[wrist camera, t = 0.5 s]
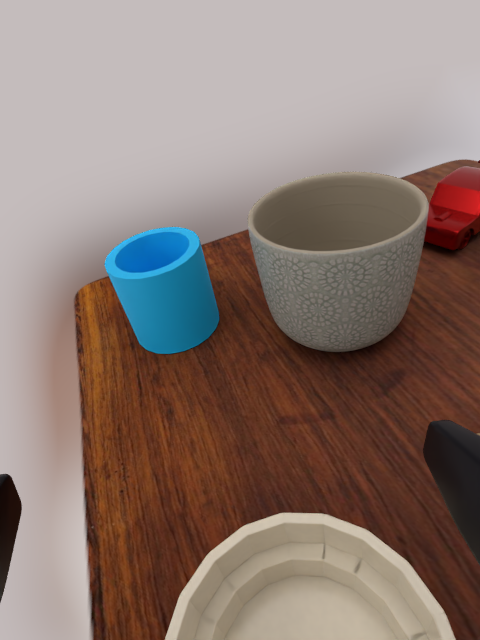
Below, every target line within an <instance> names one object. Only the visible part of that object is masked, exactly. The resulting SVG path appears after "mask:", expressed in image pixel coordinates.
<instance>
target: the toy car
mask: <svg viewBox="0 0 480 640" xmlns="http://www.w3.org/2000/svg"><path fill="white" fill-rule="evenodd" d="M478 163H480V160H479V161H478ZM479 231H480V169H479V168H474V167H468V166H465V167H460V168H458V169H457V170H455V171H454V172H452V173H450V174H449V175H447V176H446V177H445V178H443V179H442V180H441V181H440V182H438V184H437V187H436V189H435V192H434V194H433V196H432V199H431V201H430V204H429V210H428V219H427V226H426V232H425V237H424V241H426V242H429V243H432V244H435V245H438V246H441V247H445V248H448V249H451V250H455V249H462V248H464V247H465V246H466V244H467V243H468V241H469V239H470V235H475V234H476V233H477V232H479Z"/></svg>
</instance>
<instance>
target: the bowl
mask: <svg viewBox="0 0 480 640" xmlns="http://www.w3.org/2000/svg"><path fill="white" fill-rule="evenodd" d="M165 640H456V639H455V636H454V634H453V631H452V629H451V626H450V623H449V621H448V618H447V616H446V614H445V612H444V610H443V609H442V607H441V606H440V605H439V603H438V602H437V601H436V599H435V598H434V596H433V595H432V594H431V592H430V591H429V590H428V588H427V587H426V585H425V584H424V583H423V581H422V580H421V579H420V577H419V576H418V574H417V573H416V572H415V570H414V569H413V568H412V566H411V565H410V564H409V563H408V561H406V560H405V559H404V558H403V557H401V556H400V555H399V554H398V553H396V552H395V551H394V550H392V549H391V548H390V547H389V546H387V545H386V544H385V543H384V542H382V541H381V540H380V539H378V538H377V537H376V536H375V535H373V534H372V533H371V532H370V531H368V530H366V529H364V528H361V527H358V526H356V525H353V524H350V523H348V522H345V521H342V520H340V519H337V518H335V517H332V516H329V515H327V514H317V513H280V514H277V515H274V516H271V517H268V518H265V519H262V520H259V521H256V522H253V523H250V524H247V525H244V526H243V527H241V528H240V529H239V530H237V531H236V532H235V533H233V534H232V535H231V536H230V537H228V538H227V539H226V540H225V541H223V542H222V543H221V544H219V545H218V546H217V547H216V548H214V549H213V550H212V551H211V552H209V554H207V556H206V557H205V559H204V560H203V562H202V563H201V565H200V566H199V568H198V569H197V570H196V572H195V573H194V575H193V576H192V578H191V579H190V581H189V582H188V584H187V585H186V587H185V588H184V590H183V591H182V593H181V594H180V596H179V599H178V602H177V605H176V608H175V611H174V614H173V617H172V620H171V623H170V626H169V629H168V632H167V635H166V638H165Z"/></svg>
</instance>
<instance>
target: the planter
mask: <svg viewBox="0 0 480 640" xmlns="http://www.w3.org/2000/svg"><path fill="white" fill-rule="evenodd" d="M428 210H429V204H428V200H427V198H426V196H425V195H424V193H423V192H422V191H421V190H420V189H419V188H417V187H416V186H415V185H413V184H411V183H409V182H407V181H405V180H402V179H399V178H396V177H393V176H389V175H384V174H377V173H367V172H339V173H328V174H322V175H316V176H311V177H307V178H303V179H299V180H296V181H293V182H290V183H287V184H285V185H283V186H280V187H278V188H276V189H275V190H272V191H271V192H269V193H268V194H266V195H264V196H263V197H262V198H261V199H259V200H258V201H257V202H256V203H255V204H254V206H253V207H252V209H251V210H250V212H249V215H248V229H249V235H250V240H251V245H252V249H253V254H254V258H255V262H256V266H257V269H258V273H259V277H260V280H261V284H262V288H263V291H264V294H265V298H266V301H267V304H268V306H269V309H270V312H271V314H272V317H273V319H274V320H275V322H276V324H277V325H278V326H279V328H280V329H281V330H282V331H283V332H284V333H285V334H286V335H287V336H289V337H290V338H291V339H293V340H294V341H296V342H298V343H300V344H302V345H304V346H306V347H309V348H312V349H316V350H321V351H327V352H346V351H353V350H358V349H361V348H365V347H367V346H370V345H372V344H374V343H376V342H378V341H380V340H382V339H383V338H385V337H386V336H387V335H389V334H390V333H391V332H392V331H393V330H394V329H395V328H396V327H397V325H398V324H399V323H400V321H401V320H402V318H403V316H404V314H405V312H406V310H407V307H408V304H409V301H410V298H411V294H412V291H413V287H414V283H415V279H416V275H417V270H418V266H419V262H420V257H421V253H422V248H423V243H424V237H425V232H426V226H427V219H428Z"/></svg>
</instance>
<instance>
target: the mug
mask: <svg viewBox="0 0 480 640" xmlns="http://www.w3.org/2000/svg"><path fill="white" fill-rule="evenodd" d="M105 268H106V270H107V273H108V275H109V277H110V280H111V282H112V284H113V286H114V288H115V291H116V293H117V295H118V297H119V299H120V302H121V304H122V306H123V308H124V310H125V313H126V315H127V317H128V319H129V321H130V324H131V326H132V328H133V330H134V332H135V335H136V337H137V339H138V341H139V343H140V345H142V346H143V347H144V348H145V349H146V350H148V351H151V352H154V353H159V354H172V353H177V352H182V351H186V350H188V349H190V348H193V347H195V346H198V345H199V344H200V343H202V342H203V341H205V340H206V339H207V338H209V337H210V335H211V334H212V333H213V332H214V331H215V329H216V327H217V325H218V322H219V311H218V307H217V304H216V300H215V296H214V292H213V289H212V285H211V281H210V277H209V274H208V270H207V266H206V262H205V259H204V255H203V251H202V247H201V244H200V240H199V237H198V236H197V235H196V234H195V232H193V231H191V230H188V229H186V228H179V227H167V228H159V229H153V230H149V231H146V232H143V233H140V234H137V235H135V236H133V237H131V238H129V239H127V240H125V241H123V242H122V243H120V244H119V245H118V246H116V247H115V248H114V249H113V250H112V251H111V252H110V253H109V255H108V256H107V258H106V261H105Z"/></svg>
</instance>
